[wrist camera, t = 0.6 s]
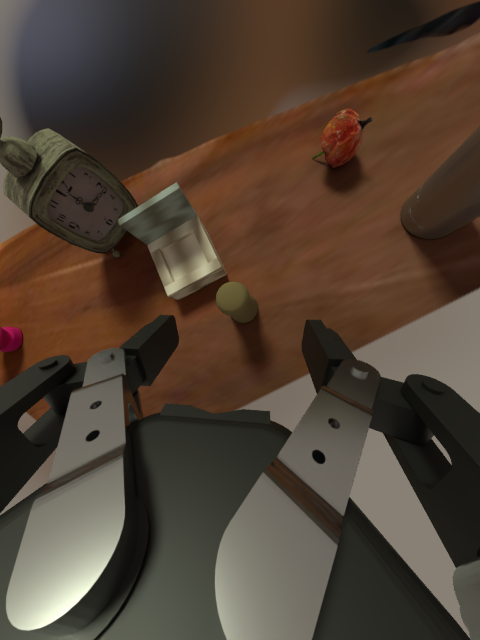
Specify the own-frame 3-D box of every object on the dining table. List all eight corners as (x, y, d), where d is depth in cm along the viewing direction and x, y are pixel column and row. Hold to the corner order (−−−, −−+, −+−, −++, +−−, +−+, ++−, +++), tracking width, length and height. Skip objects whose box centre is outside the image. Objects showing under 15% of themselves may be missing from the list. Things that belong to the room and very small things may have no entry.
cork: (245, 328, 36) (233, 325, 25) (222, 311, 37) (202, 301, 27) (264, 304, 36) (259, 291, 25) (240, 287, 37) (226, 268, 26)
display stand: (202, 223, 40) (176, 182, 29) (227, 274, 38) (208, 250, 27) (158, 249, 42) (117, 219, 31) (178, 300, 39) (143, 286, 29)
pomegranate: (314, 186, 38) (370, 162, 31) (298, 154, 34) (359, 116, 26) (324, 158, 39) (381, 127, 32) (310, 123, 35) (372, 77, 27)
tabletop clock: (119, 265, 43) (-83, 174, 19) (96, 246, 45) (-116, 139, 21) (155, 216, 43) (-6, 54, 18) (130, 198, 44) (-48, 29, 20)
